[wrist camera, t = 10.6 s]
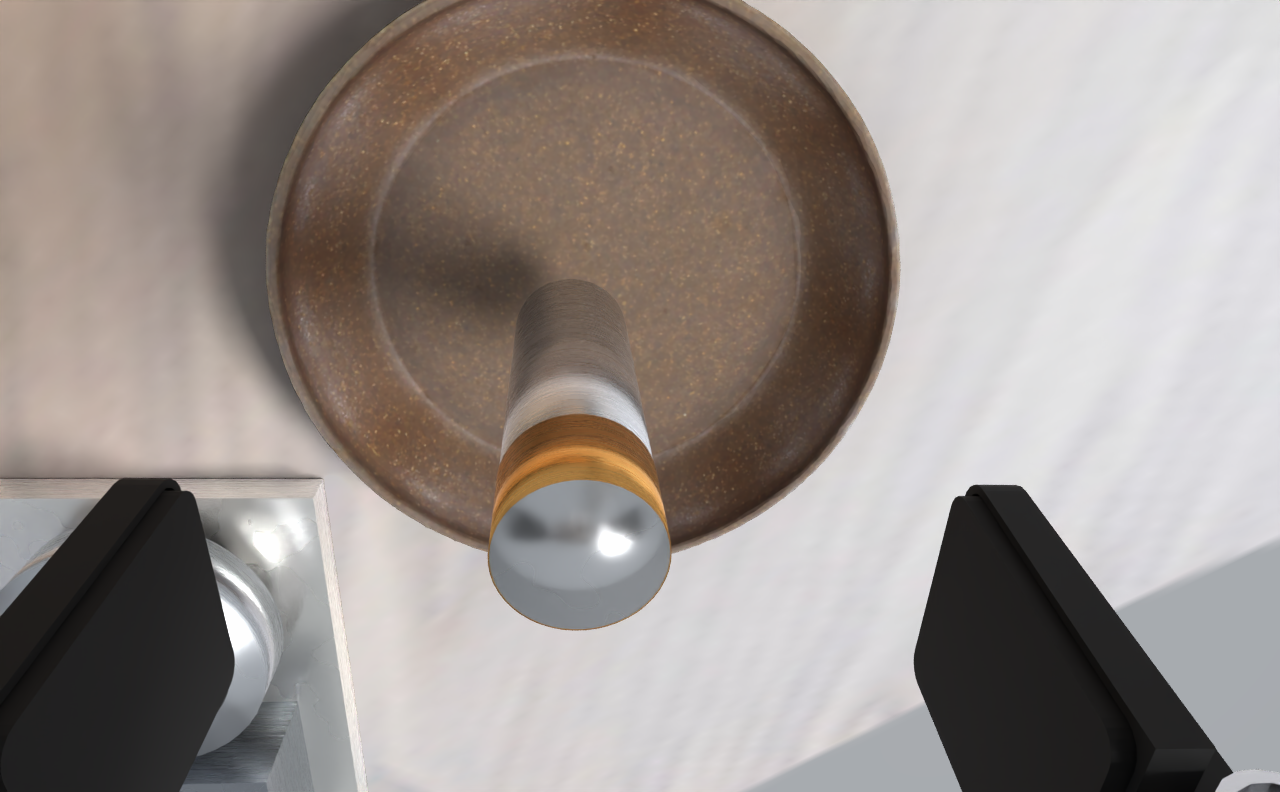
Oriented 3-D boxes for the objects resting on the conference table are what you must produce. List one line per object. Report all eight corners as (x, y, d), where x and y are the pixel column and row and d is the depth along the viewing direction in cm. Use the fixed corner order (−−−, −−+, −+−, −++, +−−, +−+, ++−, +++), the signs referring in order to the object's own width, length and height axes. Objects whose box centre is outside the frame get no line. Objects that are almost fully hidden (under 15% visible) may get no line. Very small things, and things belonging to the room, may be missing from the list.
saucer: (835, -111, 19) (871, -121, 17) (893, 451, 26) (925, 502, 24) (197, 46, 20) (144, 58, 18) (411, 558, 27) (395, 617, 24)
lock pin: (510, 280, 20) (478, 485, 12) (625, 275, 20) (671, 472, 12) (519, 385, 21) (496, 636, 13) (628, 379, 21) (672, 623, 13)
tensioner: (-11, 478, 24) (-114, 568, 21) (322, 478, 25) (278, 565, 21) (107, 825, 30) (43, 940, 27) (372, 818, 31) (344, 930, 27)
